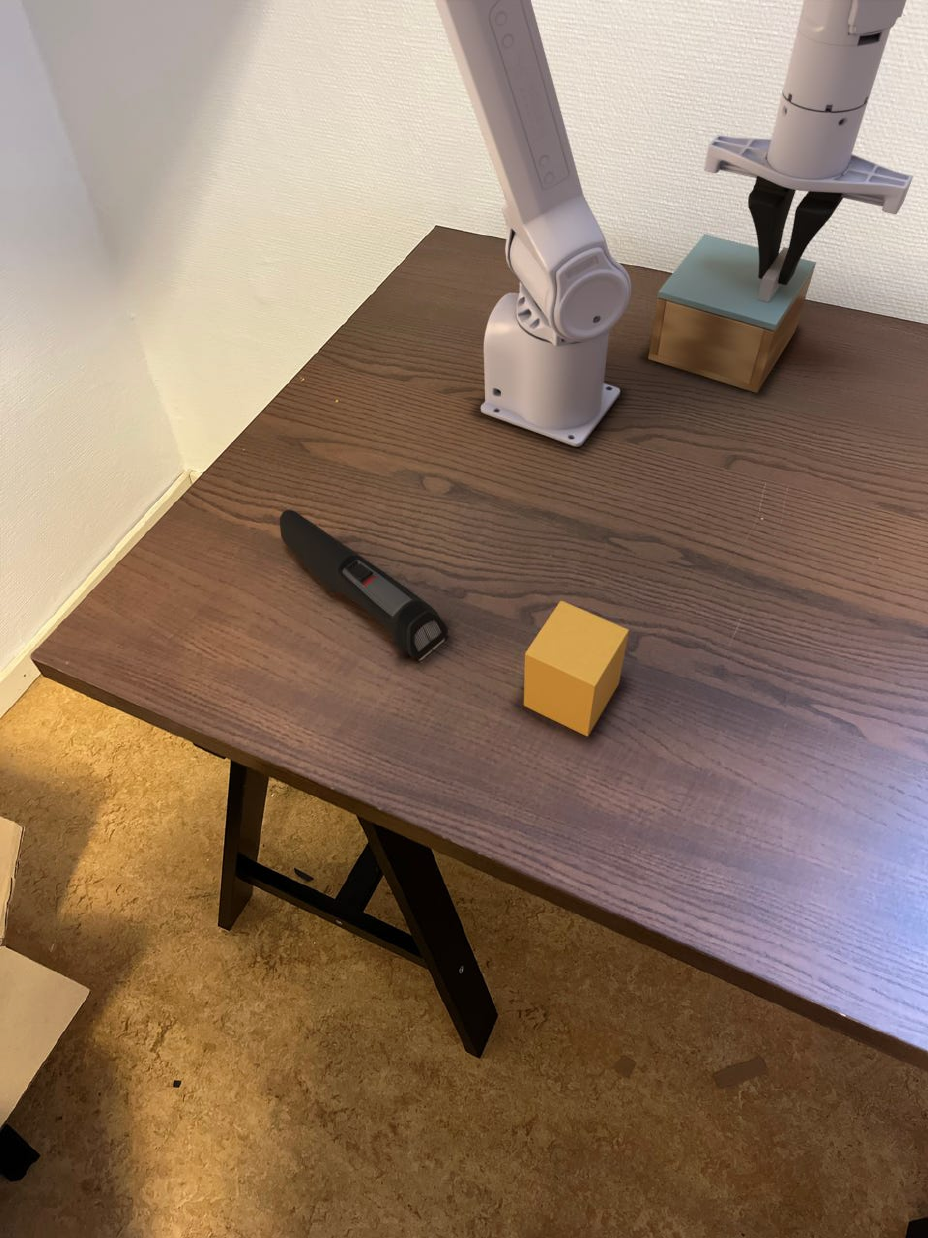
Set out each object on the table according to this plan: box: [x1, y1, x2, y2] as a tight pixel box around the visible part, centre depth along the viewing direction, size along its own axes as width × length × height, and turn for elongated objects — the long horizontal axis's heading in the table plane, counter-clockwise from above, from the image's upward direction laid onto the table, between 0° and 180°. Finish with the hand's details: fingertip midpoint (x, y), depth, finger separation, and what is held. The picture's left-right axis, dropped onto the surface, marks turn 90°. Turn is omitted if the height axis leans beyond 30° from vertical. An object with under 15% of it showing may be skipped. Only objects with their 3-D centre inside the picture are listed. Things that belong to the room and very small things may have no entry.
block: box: [523, 600, 630, 737], centre depth 53 cm, size 5×5×6 cm
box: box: [648, 269, 815, 394], centre depth 75 cm, size 10×10×6 cm
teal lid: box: [657, 233, 817, 331], centre depth 71 cm, size 10×10×3 cm
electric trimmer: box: [279, 509, 449, 662], centre depth 61 cm, size 4×16×3 cm, turn 45°
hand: (776, 275), depth 70 cm, fingers closed, pressing on teal lid
